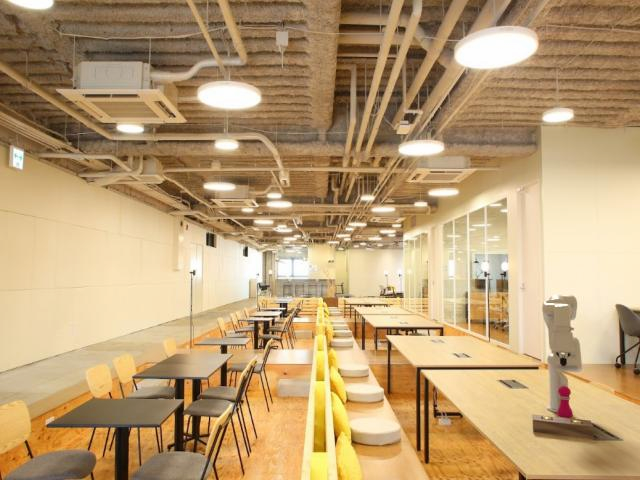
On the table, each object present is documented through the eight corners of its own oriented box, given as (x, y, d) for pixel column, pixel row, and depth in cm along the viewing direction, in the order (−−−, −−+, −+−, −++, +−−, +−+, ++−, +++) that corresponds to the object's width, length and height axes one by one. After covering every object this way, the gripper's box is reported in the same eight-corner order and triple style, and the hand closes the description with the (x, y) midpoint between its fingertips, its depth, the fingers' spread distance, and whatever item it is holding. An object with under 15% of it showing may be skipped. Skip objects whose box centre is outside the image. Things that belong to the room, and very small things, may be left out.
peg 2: (571, 428, 233) (571, 419, 233) (581, 429, 231) (580, 420, 232) (572, 431, 229) (572, 421, 229) (582, 432, 228) (581, 422, 228)
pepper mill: (559, 419, 254) (558, 381, 255) (574, 422, 249) (573, 383, 251) (556, 422, 248) (555, 383, 250) (571, 425, 244) (570, 385, 245)
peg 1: (542, 425, 238) (542, 416, 238) (551, 426, 236) (551, 417, 237) (543, 427, 234) (542, 418, 234) (552, 428, 233) (551, 419, 233)
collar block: (532, 426, 242) (532, 414, 243) (590, 433, 232) (590, 420, 233) (533, 432, 233) (533, 419, 233) (593, 439, 223) (593, 426, 223)
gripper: (578, 329, 243) (579, 365, 242) (545, 327, 249) (546, 363, 247) (579, 331, 236) (581, 368, 235) (546, 329, 242) (547, 366, 241)
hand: (563, 365), depth 241 cm, fingers closed
